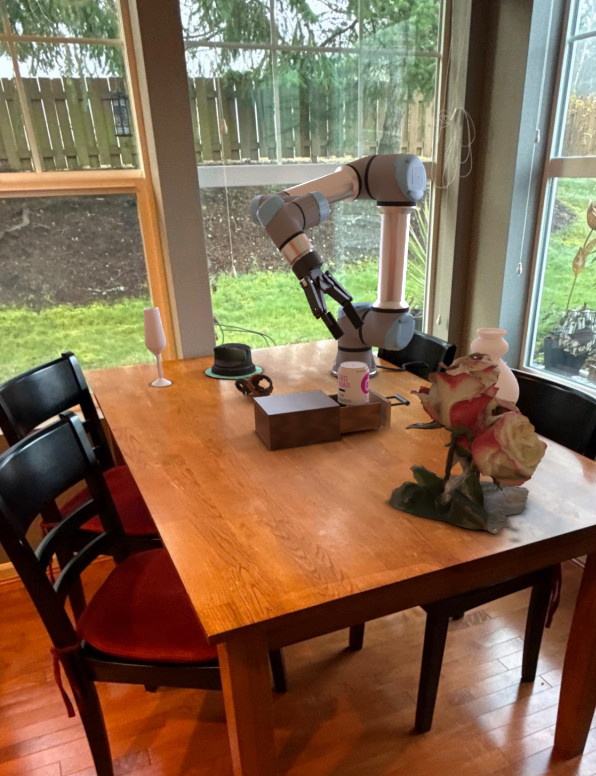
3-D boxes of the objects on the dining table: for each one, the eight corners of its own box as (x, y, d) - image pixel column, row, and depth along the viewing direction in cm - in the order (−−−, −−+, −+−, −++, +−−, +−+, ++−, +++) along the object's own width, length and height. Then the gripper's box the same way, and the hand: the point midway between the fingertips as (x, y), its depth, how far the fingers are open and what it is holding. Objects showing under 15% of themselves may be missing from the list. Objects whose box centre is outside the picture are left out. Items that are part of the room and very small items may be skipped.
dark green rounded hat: (269, 362, 228) (258, 379, 211) (228, 385, 235) (214, 403, 218) (247, 324, 222) (234, 339, 205) (205, 349, 229) (189, 365, 212)
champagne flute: (176, 382, 210) (166, 307, 198) (161, 387, 205) (150, 311, 194) (161, 379, 214) (151, 305, 202) (146, 384, 209) (135, 309, 197)
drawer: (392, 410, 180) (393, 384, 176) (414, 425, 169) (416, 398, 165) (311, 421, 173) (310, 395, 169) (328, 437, 162) (328, 409, 158)
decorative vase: (439, 430, 168) (447, 334, 155) (456, 410, 181) (465, 321, 169) (506, 440, 161) (521, 341, 148) (519, 419, 175) (533, 326, 162)
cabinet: (321, 422, 175) (320, 389, 170) (340, 440, 163) (340, 405, 158) (255, 431, 169) (253, 397, 164) (270, 450, 157) (268, 414, 153)
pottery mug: (272, 393, 200) (276, 374, 193) (268, 414, 195) (272, 395, 188) (235, 384, 198) (238, 365, 192) (230, 405, 193) (233, 386, 186)
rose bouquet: (519, 544, 116) (546, 384, 101) (378, 507, 130) (384, 361, 115) (555, 491, 135) (582, 350, 120) (428, 464, 148) (439, 334, 133)
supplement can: (372, 417, 171) (374, 362, 164) (361, 427, 165) (362, 370, 157) (345, 413, 174) (345, 359, 167) (333, 423, 168) (332, 367, 160)
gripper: (313, 262, 168) (357, 330, 171) (268, 274, 148) (320, 350, 152) (333, 244, 164) (378, 314, 167) (290, 253, 144) (342, 333, 147)
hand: (350, 332), depth 159 cm, fingers open, 13 cm apart
